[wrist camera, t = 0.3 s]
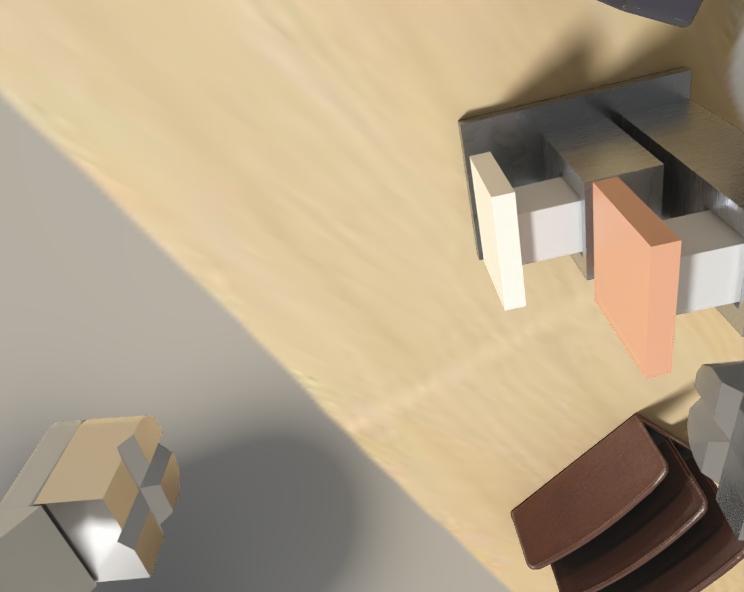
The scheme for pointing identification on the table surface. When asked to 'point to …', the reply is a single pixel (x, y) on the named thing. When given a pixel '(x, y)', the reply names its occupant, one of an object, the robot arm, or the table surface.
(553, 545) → the letter holder
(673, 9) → the dark rectangular slab
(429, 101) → the table surface
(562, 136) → the press rig
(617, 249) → the orange plunger
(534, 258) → the cream stepped block
